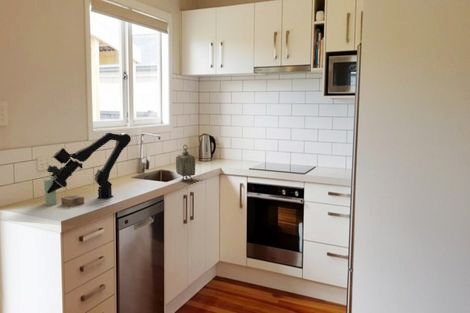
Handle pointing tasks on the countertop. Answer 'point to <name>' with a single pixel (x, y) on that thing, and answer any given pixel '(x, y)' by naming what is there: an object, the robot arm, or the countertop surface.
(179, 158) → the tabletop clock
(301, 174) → the countertop surface
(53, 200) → the sage green block
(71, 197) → the walnut block
